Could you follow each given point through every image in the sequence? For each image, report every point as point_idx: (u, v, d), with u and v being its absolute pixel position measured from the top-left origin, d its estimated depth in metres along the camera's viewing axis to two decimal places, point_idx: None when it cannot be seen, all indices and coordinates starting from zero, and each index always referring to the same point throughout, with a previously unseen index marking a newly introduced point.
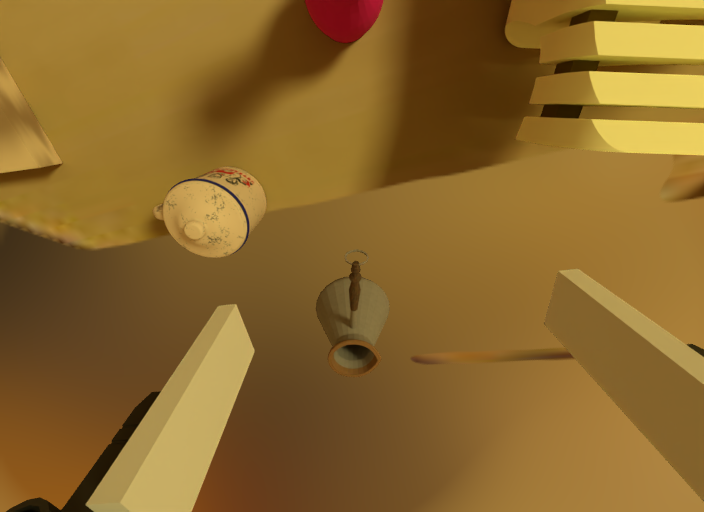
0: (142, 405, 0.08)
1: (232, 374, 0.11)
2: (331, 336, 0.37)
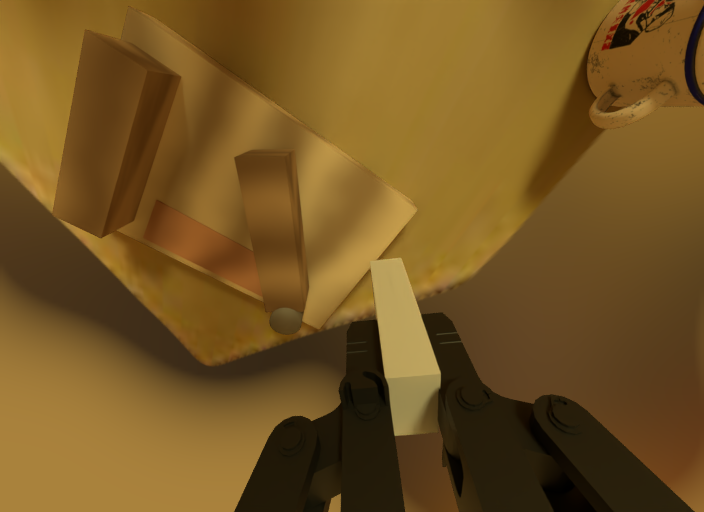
0: (351, 330, 0.10)
1: None
2: None
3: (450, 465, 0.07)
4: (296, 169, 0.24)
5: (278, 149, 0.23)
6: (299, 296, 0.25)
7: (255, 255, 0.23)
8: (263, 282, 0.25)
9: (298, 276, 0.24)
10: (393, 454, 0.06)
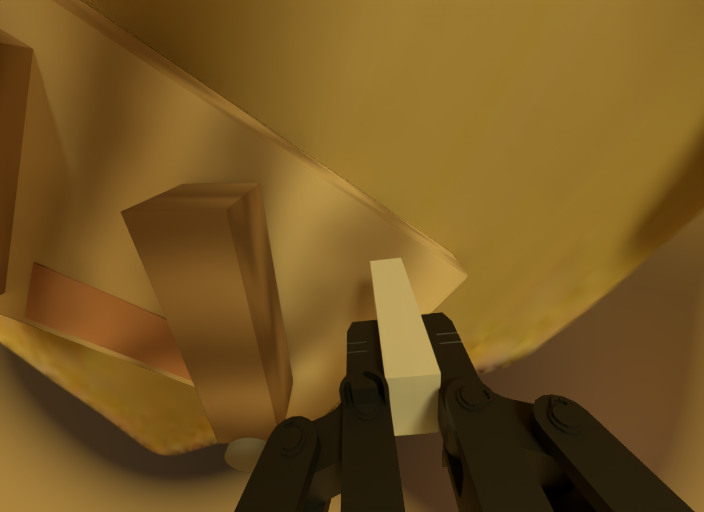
0: (352, 330, 0.10)
1: None
2: None
3: (450, 465, 0.07)
4: (264, 217, 0.14)
5: (230, 183, 0.13)
6: (272, 423, 0.15)
7: (190, 370, 0.13)
8: (209, 406, 0.14)
9: (268, 398, 0.14)
10: (393, 454, 0.06)
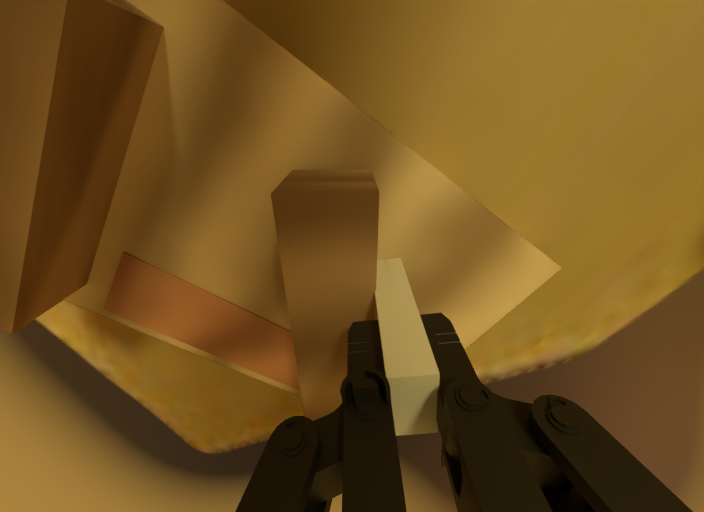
0: (352, 329, 0.10)
1: None
2: None
3: (449, 465, 0.07)
4: None
5: (341, 170, 0.13)
6: None
7: (298, 361, 0.13)
8: (308, 399, 0.14)
9: None
10: (394, 454, 0.06)
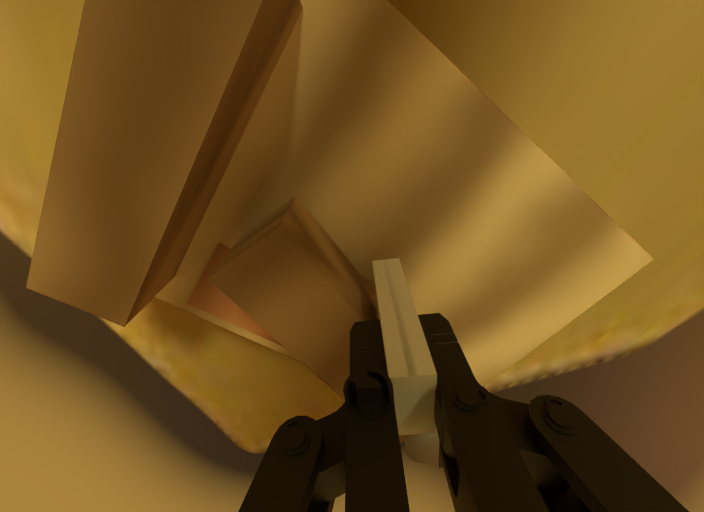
0: (354, 329, 0.10)
1: None
2: None
3: (446, 466, 0.07)
4: (317, 223, 0.14)
5: (274, 211, 0.13)
6: None
7: (334, 387, 0.14)
8: None
9: None
10: (397, 454, 0.06)
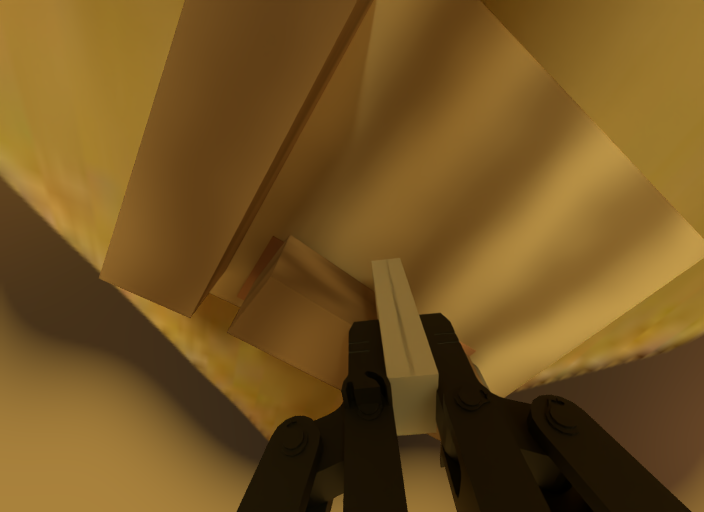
0: (353, 329, 0.10)
1: None
2: None
3: (448, 465, 0.07)
4: (315, 254, 0.14)
5: None
6: None
7: None
8: None
9: None
10: (395, 454, 0.06)
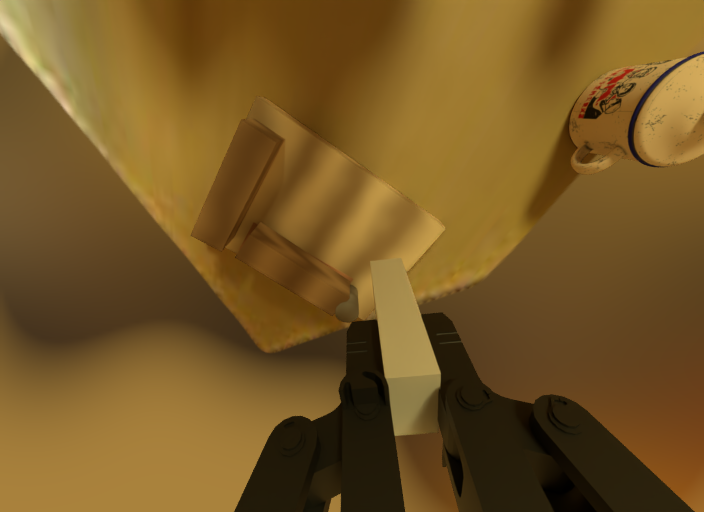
0: (351, 330, 0.10)
1: None
2: None
3: (450, 465, 0.07)
4: (271, 229, 0.34)
5: None
6: (337, 292, 0.34)
7: (293, 291, 0.34)
8: (312, 301, 0.35)
9: (323, 282, 0.34)
10: (393, 454, 0.06)
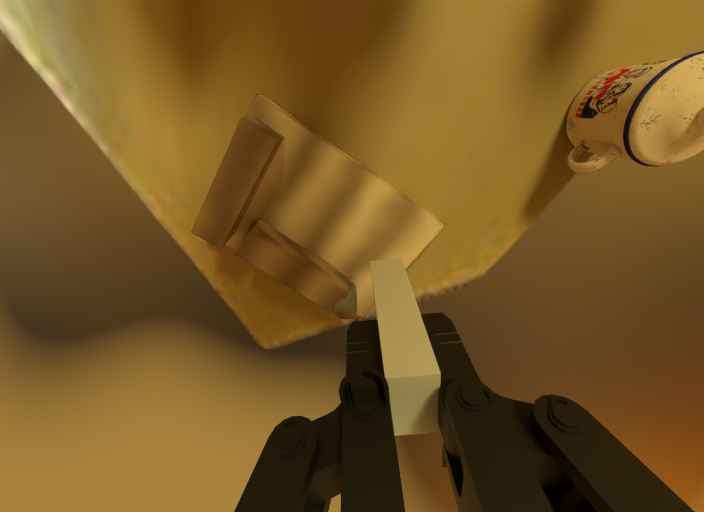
0: (351, 330, 0.10)
1: None
2: None
3: (450, 465, 0.07)
4: (270, 227, 0.35)
5: None
6: (336, 289, 0.35)
7: (292, 288, 0.35)
8: (311, 298, 0.35)
9: (322, 279, 0.34)
10: (393, 454, 0.06)
